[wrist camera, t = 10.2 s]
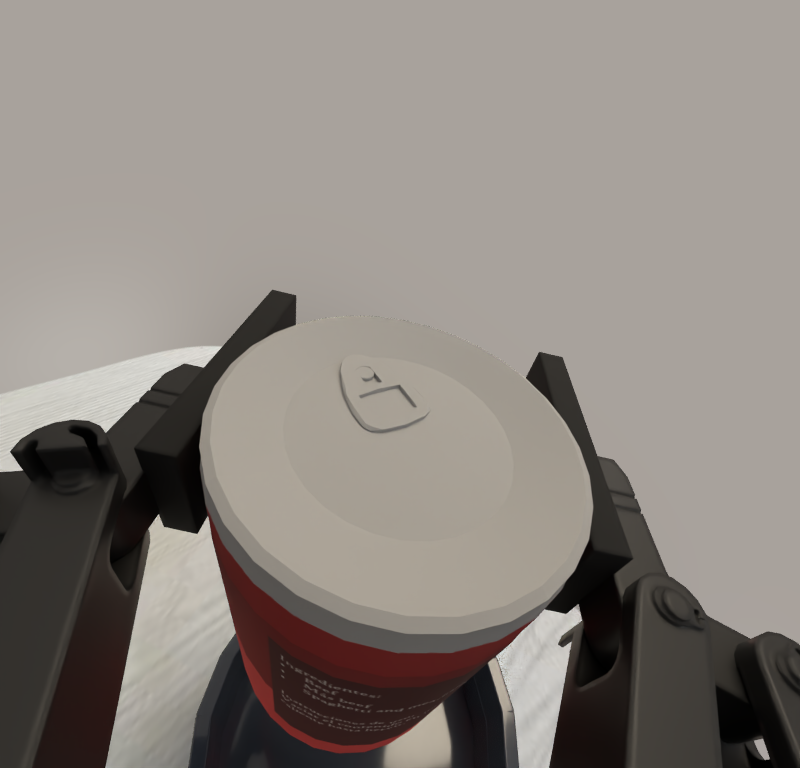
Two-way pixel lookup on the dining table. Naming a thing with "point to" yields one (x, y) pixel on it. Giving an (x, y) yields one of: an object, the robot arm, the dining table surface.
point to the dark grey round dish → (391, 764)
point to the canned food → (383, 519)
